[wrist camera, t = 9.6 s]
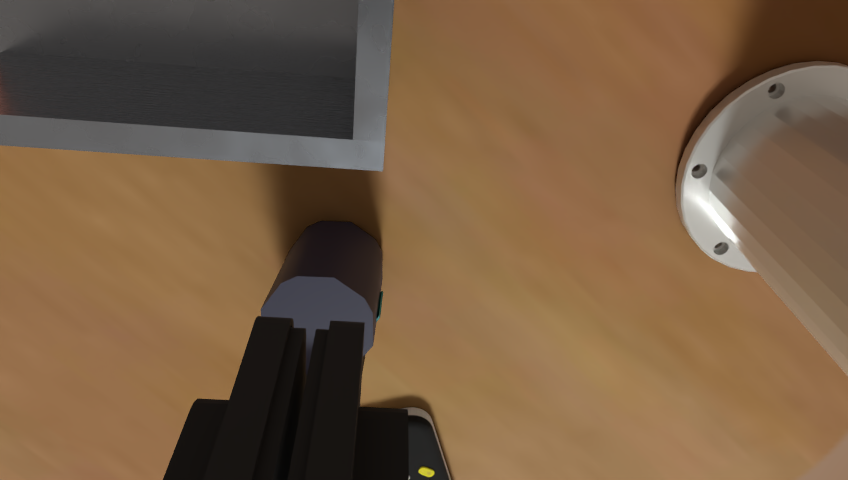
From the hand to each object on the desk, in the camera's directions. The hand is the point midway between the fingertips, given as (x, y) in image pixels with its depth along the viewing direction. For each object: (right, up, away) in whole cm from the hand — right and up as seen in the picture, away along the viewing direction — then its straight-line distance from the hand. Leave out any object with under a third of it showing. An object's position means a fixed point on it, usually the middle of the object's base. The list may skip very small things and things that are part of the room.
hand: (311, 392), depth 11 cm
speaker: (-4, +1, +30) cm, 31 cm away
